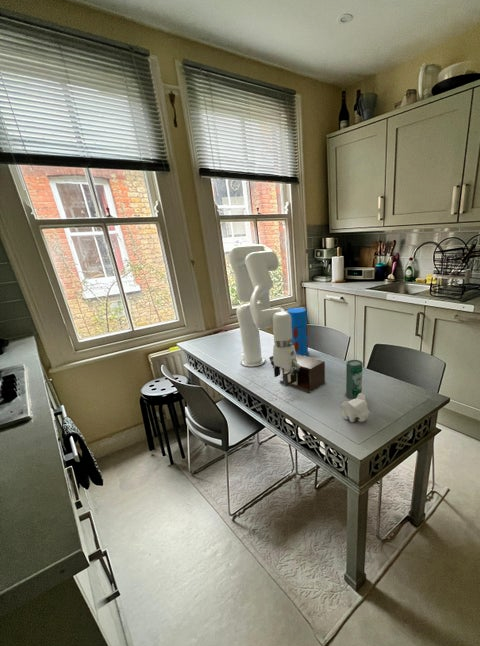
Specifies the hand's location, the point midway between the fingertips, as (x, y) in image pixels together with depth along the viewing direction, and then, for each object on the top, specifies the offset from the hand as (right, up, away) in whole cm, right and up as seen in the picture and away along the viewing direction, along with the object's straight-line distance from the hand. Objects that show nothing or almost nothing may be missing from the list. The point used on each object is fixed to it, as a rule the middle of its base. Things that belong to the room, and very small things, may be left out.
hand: (285, 378), depth 138 cm
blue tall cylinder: (+6, +13, +43) cm, 45 cm away
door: (+1, -3, +4) cm, 5 cm away
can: (+29, -7, -4) cm, 30 cm away
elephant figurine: (+27, -14, -21) cm, 37 cm away
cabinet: (+8, -2, +9) cm, 12 cm away
